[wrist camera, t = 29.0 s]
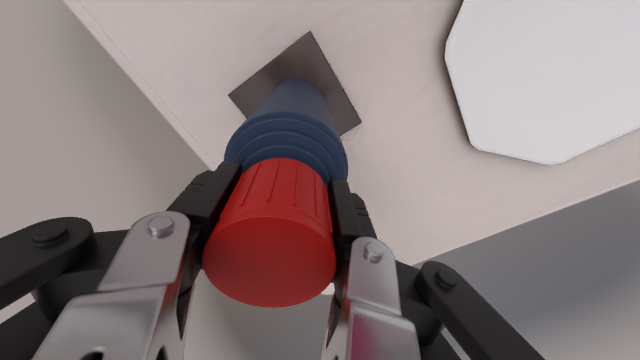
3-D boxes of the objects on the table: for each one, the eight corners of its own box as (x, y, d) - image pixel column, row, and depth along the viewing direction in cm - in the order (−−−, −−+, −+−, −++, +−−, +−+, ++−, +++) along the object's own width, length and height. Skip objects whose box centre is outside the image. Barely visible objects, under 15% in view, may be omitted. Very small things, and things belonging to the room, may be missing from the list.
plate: (869, -395, 13) (934, -446, 11) (738, 71, 25) (762, 72, 23) (404, -44, 19) (411, -51, 18) (480, 191, 31) (487, 197, 30)
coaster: (288, 166, 28) (288, 168, 27) (229, 94, 24) (227, 95, 23) (360, 120, 26) (362, 122, 25) (310, 31, 21) (310, 30, 21)
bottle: (291, 150, 26) (260, 333, 9) (253, 102, 24) (113, 237, 7) (339, 119, 25) (406, 270, 8) (305, 64, 22) (296, 111, 5)
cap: (275, 244, 11) (262, 322, 8) (215, 188, 10) (169, 257, 6) (344, 207, 10) (361, 278, 7) (292, 137, 9) (283, 189, 5)
